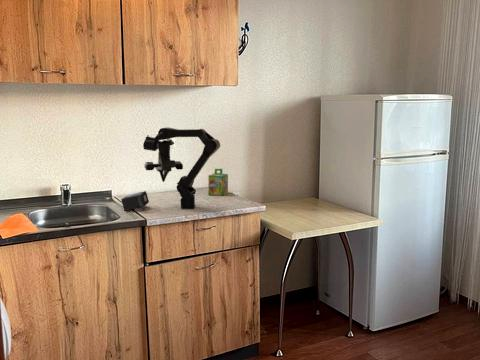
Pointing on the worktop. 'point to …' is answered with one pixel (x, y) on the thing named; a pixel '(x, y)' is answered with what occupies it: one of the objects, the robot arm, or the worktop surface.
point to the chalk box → (218, 183)
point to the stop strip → (139, 208)
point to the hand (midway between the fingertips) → (163, 181)
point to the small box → (135, 200)
